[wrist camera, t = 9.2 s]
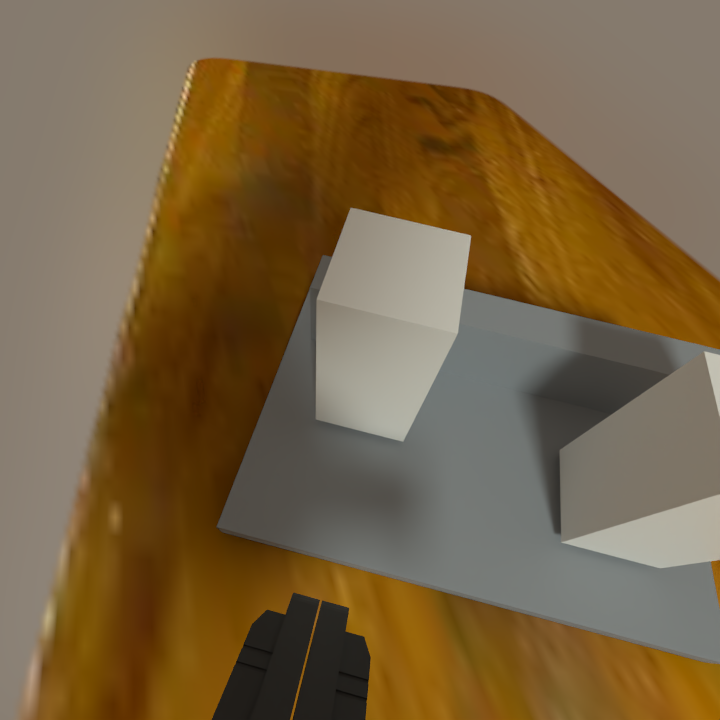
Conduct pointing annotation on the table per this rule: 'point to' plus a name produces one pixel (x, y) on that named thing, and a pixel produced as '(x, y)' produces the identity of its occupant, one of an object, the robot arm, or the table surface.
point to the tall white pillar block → (386, 320)
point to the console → (475, 475)
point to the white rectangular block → (650, 474)
